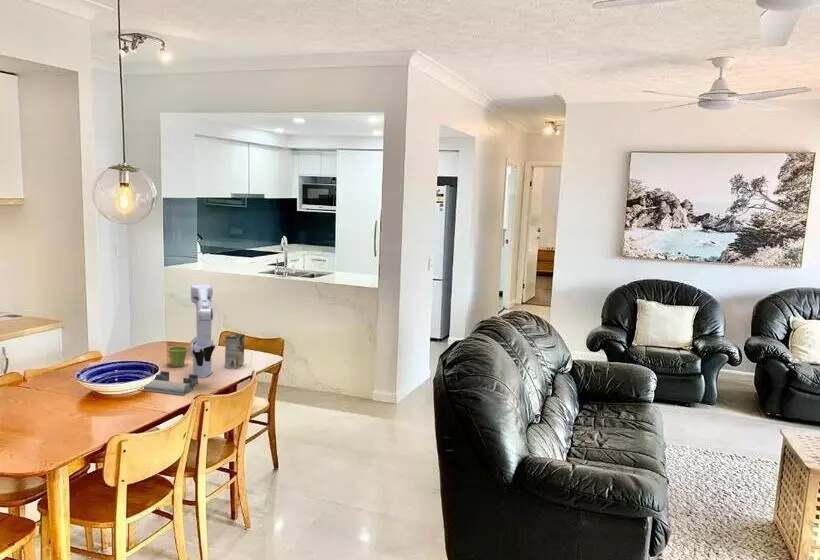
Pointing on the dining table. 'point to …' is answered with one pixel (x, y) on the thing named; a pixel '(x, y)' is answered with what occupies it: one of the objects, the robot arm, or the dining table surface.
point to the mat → (165, 391)
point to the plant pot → (177, 355)
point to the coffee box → (234, 350)
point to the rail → (168, 386)
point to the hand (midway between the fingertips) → (203, 363)
